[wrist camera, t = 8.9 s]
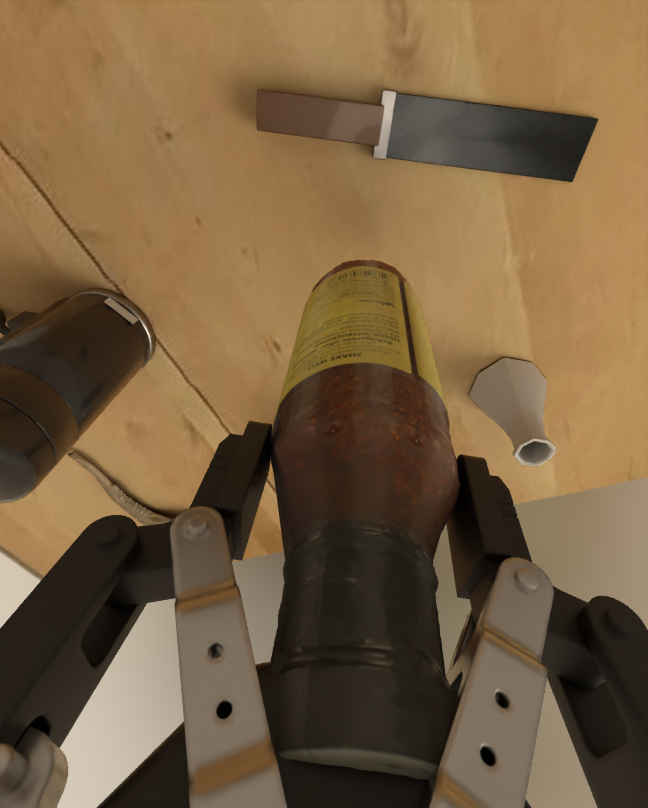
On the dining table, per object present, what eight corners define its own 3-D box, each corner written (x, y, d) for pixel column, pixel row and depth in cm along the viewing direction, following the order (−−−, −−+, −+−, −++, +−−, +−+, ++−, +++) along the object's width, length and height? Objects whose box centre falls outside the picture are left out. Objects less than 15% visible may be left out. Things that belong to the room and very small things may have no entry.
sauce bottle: (287, 319, 24) (99, 760, 8) (353, 227, 21) (252, 673, 5) (376, 380, 26) (366, 839, 10) (450, 303, 22) (617, 819, 6)
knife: (262, 142, 33) (256, 144, 31) (263, 74, 30) (256, 73, 28) (570, 182, 32) (580, 187, 30) (597, 116, 29) (609, 118, 28)
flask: (502, 344, 40) (532, 406, 33) (560, 377, 42) (602, 443, 34) (455, 396, 45) (472, 462, 37) (509, 424, 46) (536, 493, 38)
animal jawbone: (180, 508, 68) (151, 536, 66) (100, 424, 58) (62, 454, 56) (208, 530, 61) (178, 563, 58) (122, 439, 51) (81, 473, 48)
